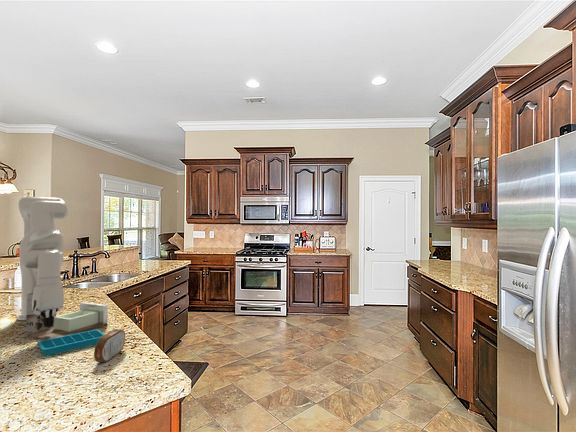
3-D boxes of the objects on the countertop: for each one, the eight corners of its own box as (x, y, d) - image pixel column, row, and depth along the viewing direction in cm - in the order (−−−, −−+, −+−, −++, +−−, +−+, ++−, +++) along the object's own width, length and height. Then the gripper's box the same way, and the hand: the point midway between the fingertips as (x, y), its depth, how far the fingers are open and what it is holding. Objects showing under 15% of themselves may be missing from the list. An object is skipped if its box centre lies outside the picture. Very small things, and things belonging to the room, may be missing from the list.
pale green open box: (53, 328, 141) (54, 316, 141) (83, 320, 153) (83, 309, 153) (69, 331, 137) (69, 319, 137) (98, 322, 149) (98, 311, 149)
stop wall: (79, 320, 154) (79, 302, 154) (83, 318, 156) (84, 301, 156) (103, 324, 148) (103, 306, 148) (107, 322, 149) (107, 305, 150)
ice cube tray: (36, 349, 121) (36, 341, 121) (98, 336, 135) (98, 329, 135) (42, 358, 113) (42, 350, 113) (106, 343, 127) (107, 335, 127)
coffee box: (37, 332, 139) (38, 294, 140) (25, 331, 141) (25, 293, 141) (56, 326, 148) (57, 290, 149) (45, 325, 150) (45, 289, 150)
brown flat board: (26, 337, 134) (26, 334, 134) (83, 321, 156) (83, 318, 156) (51, 342, 127) (51, 339, 127) (107, 324, 149) (107, 322, 149)
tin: (118, 349, 120) (118, 325, 121) (126, 349, 120) (127, 325, 121) (92, 366, 105) (92, 340, 106) (102, 366, 105) (102, 340, 106)
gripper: (61, 277, 143) (61, 320, 142) (22, 283, 129) (22, 331, 128) (73, 278, 140) (72, 322, 139) (34, 284, 126) (33, 333, 126)
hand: (48, 326), depth 134 cm, fingers closed
